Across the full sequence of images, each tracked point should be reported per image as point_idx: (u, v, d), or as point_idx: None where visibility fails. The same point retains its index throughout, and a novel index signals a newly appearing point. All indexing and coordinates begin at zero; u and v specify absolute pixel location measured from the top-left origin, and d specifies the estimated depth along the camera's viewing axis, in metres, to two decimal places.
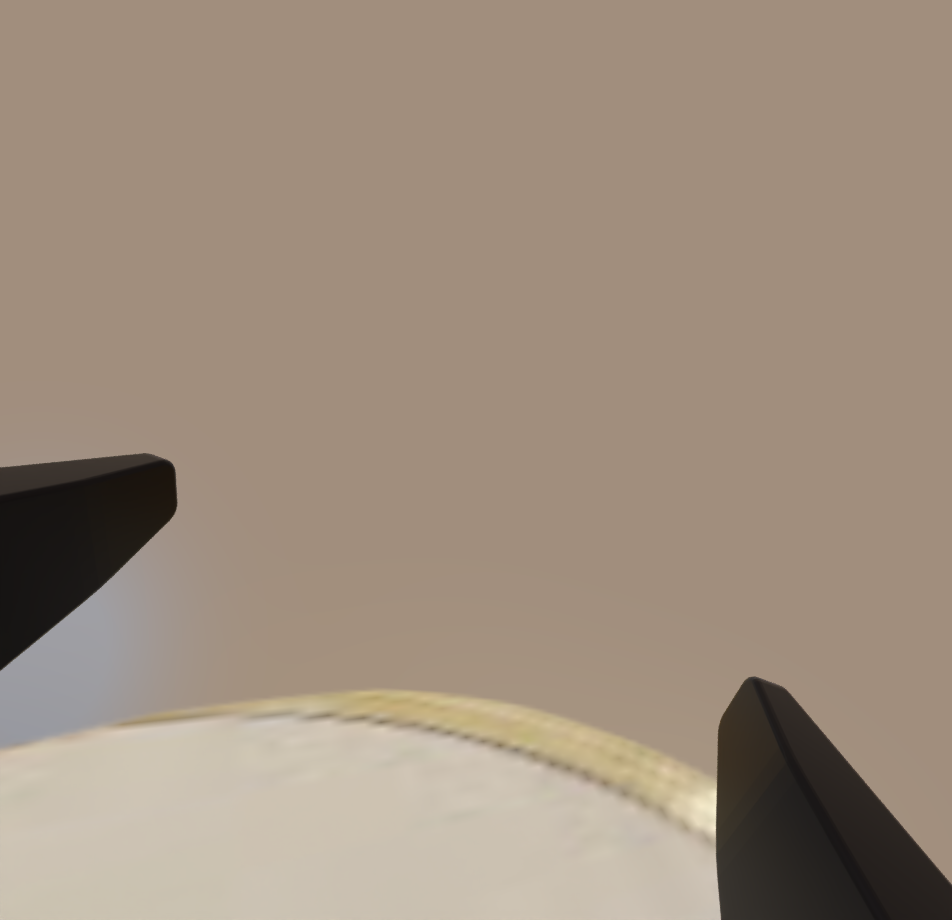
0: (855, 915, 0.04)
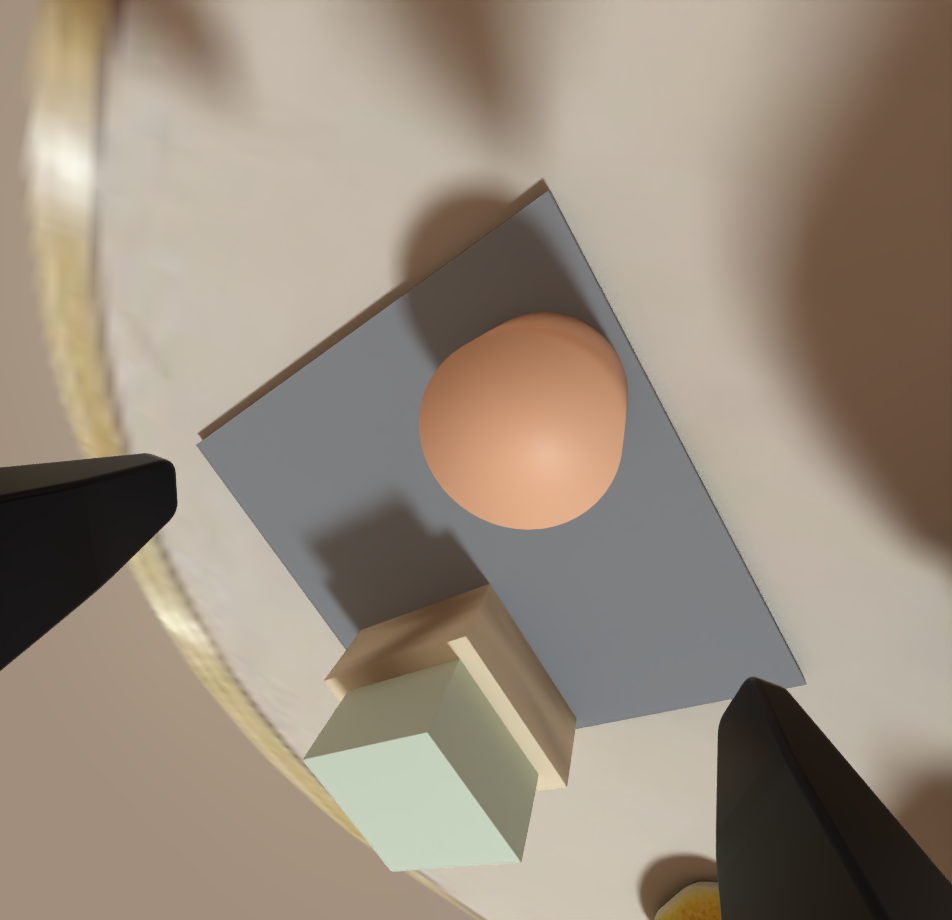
0: (855, 915, 0.04)
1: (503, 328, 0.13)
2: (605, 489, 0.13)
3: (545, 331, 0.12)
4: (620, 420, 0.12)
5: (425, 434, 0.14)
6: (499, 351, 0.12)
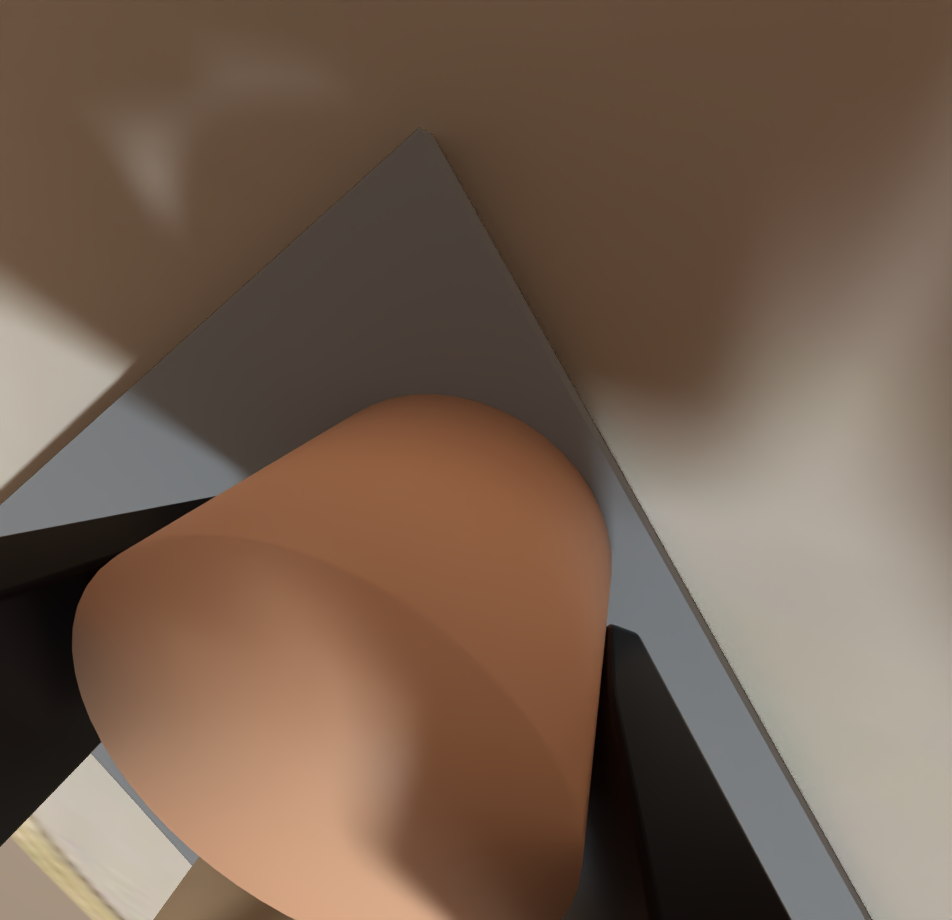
0: (622, 814, 0.04)
1: (267, 482, 0.05)
2: None
3: (356, 513, 0.04)
4: (572, 808, 0.04)
5: (103, 726, 0.05)
6: (211, 580, 0.04)
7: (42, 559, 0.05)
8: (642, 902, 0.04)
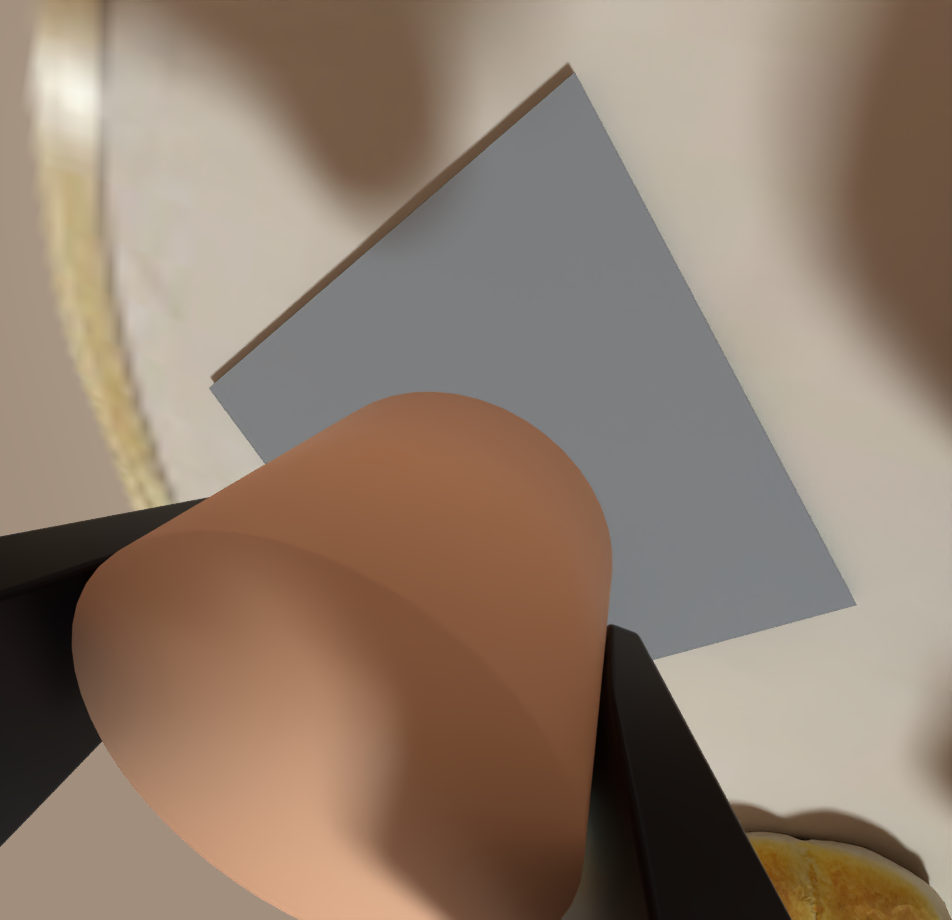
0: (622, 814, 0.04)
1: (267, 479, 0.05)
2: None
3: (357, 509, 0.04)
4: (574, 804, 0.04)
5: (103, 724, 0.05)
6: (211, 576, 0.04)
7: (42, 559, 0.05)
8: (641, 901, 0.04)
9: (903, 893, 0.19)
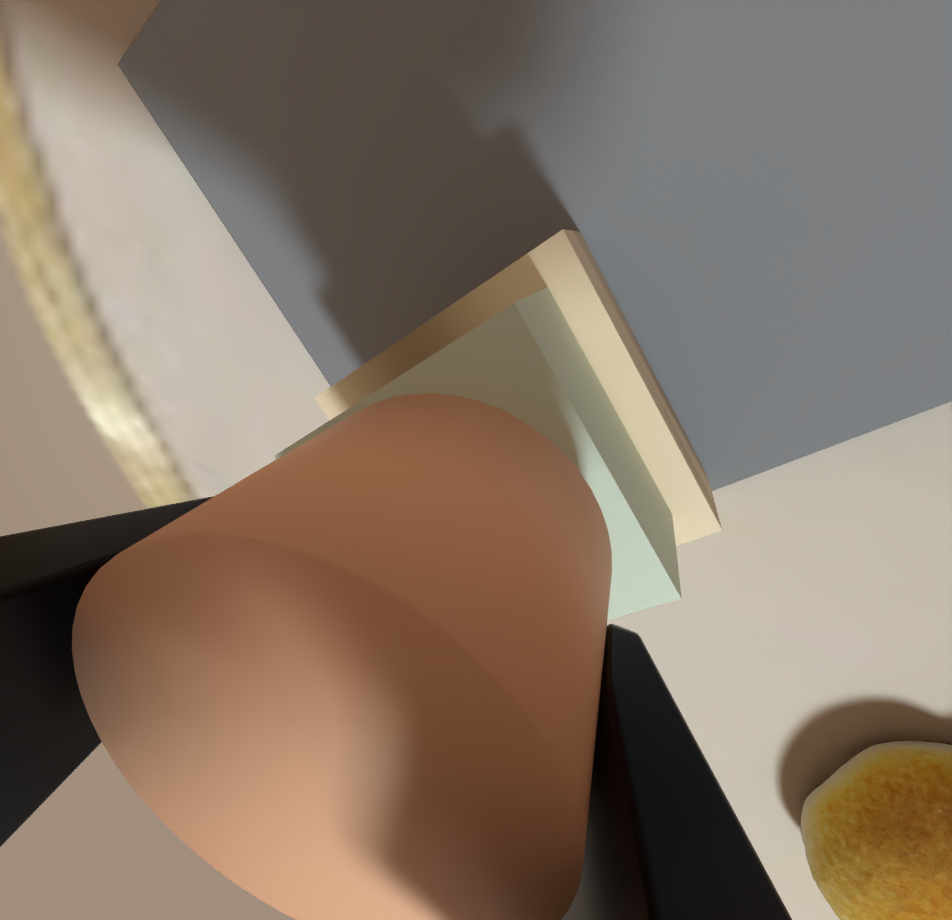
0: (622, 814, 0.04)
1: (267, 481, 0.05)
2: None
3: (357, 512, 0.04)
4: (573, 807, 0.04)
5: (103, 726, 0.05)
6: (211, 579, 0.04)
7: (42, 559, 0.05)
8: (641, 902, 0.04)
9: None
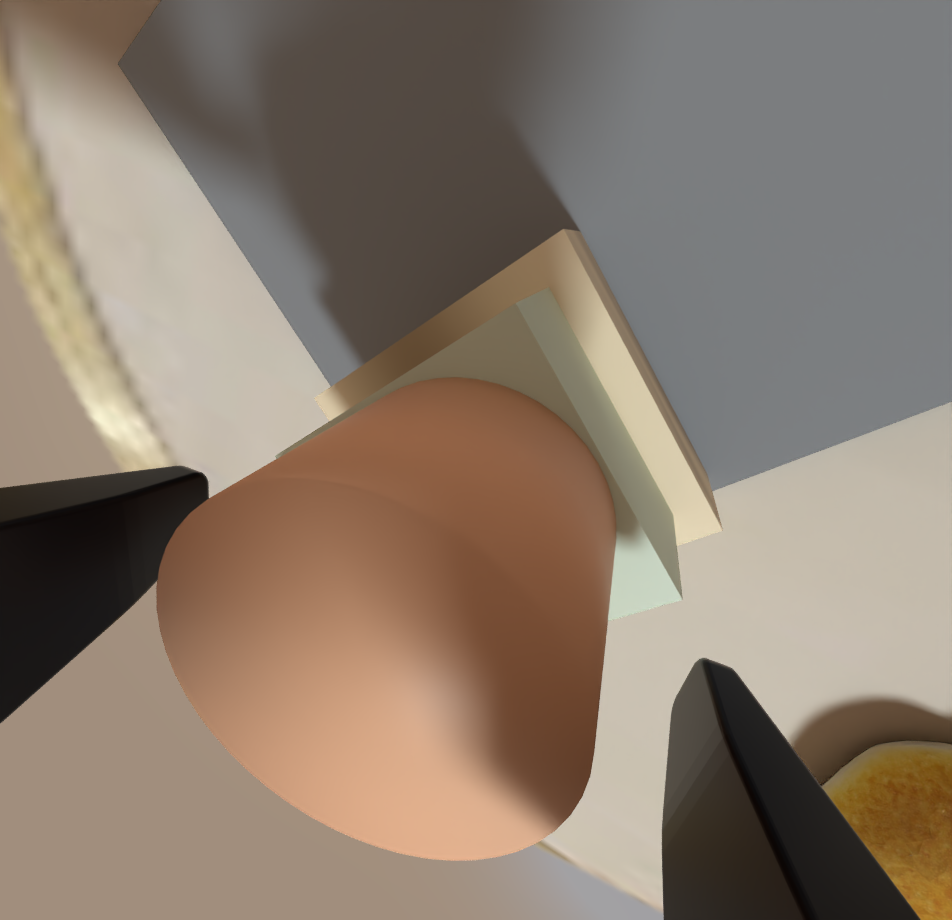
0: (771, 879, 0.04)
1: (326, 443, 0.06)
2: (556, 823, 0.05)
3: (407, 464, 0.05)
4: (586, 702, 0.05)
5: (178, 658, 0.06)
6: (288, 518, 0.05)
7: None
8: None
9: None
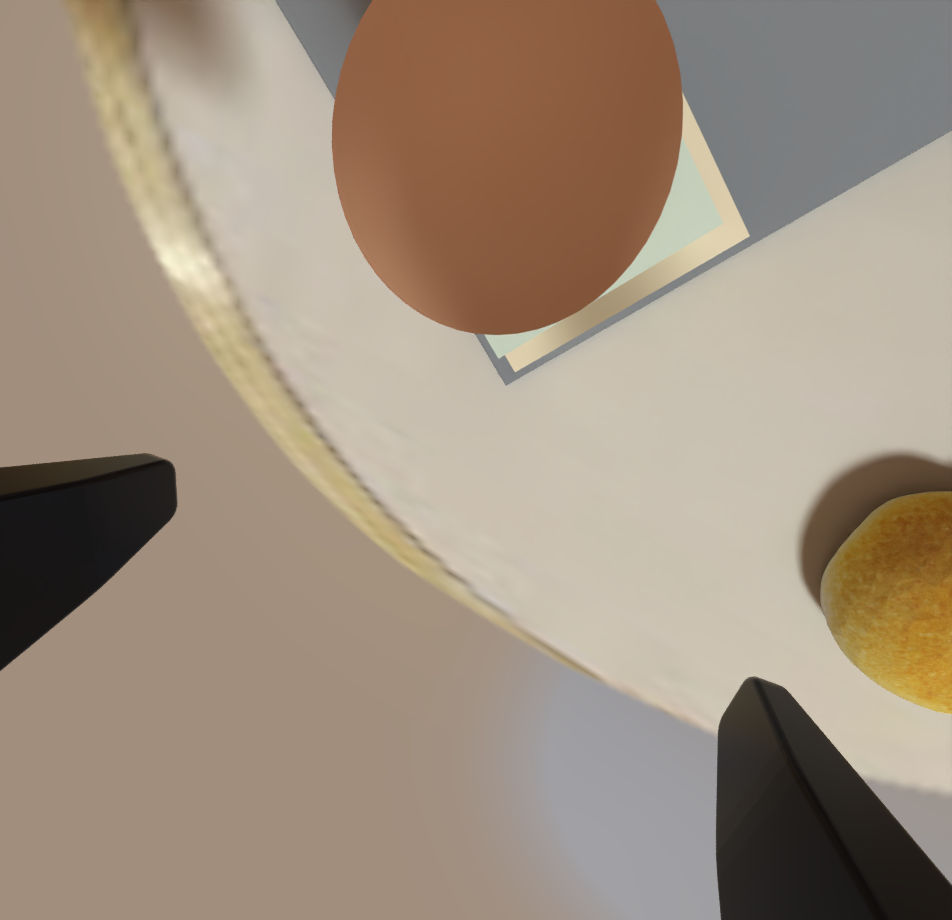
0: (854, 915, 0.04)
1: None
2: (647, 234, 0.07)
3: None
4: (679, 78, 0.07)
5: (344, 174, 0.08)
6: None
7: None
8: None
9: None
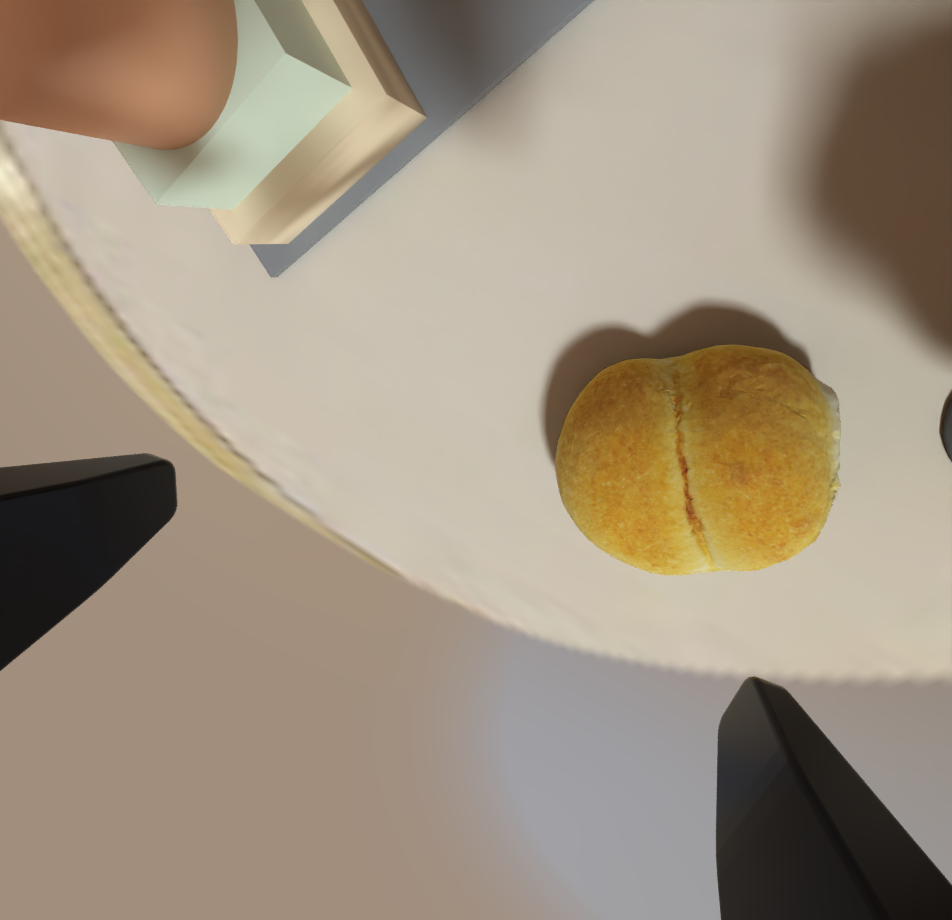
0: (855, 914, 0.04)
1: None
2: (66, 3, 0.09)
3: None
4: None
5: None
6: None
7: None
8: None
9: (776, 356, 0.15)
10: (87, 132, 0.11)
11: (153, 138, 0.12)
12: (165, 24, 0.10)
